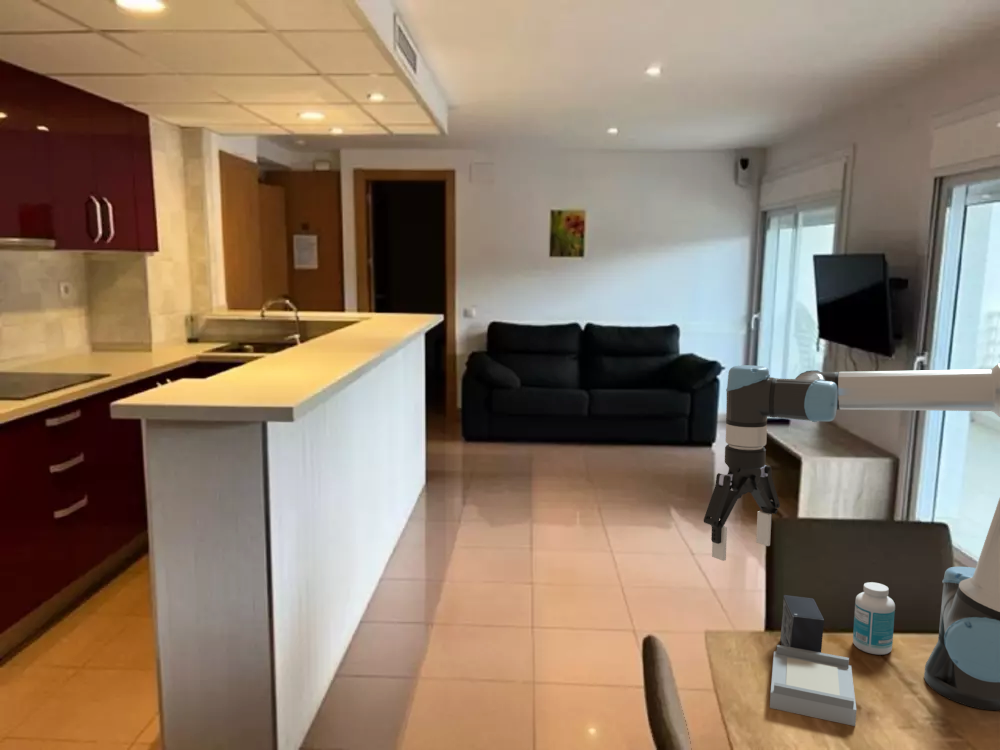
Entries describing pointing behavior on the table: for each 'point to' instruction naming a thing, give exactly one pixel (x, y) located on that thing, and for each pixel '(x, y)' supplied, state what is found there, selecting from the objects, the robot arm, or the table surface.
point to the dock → (813, 685)
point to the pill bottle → (874, 619)
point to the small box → (801, 624)
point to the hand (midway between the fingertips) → (741, 551)
